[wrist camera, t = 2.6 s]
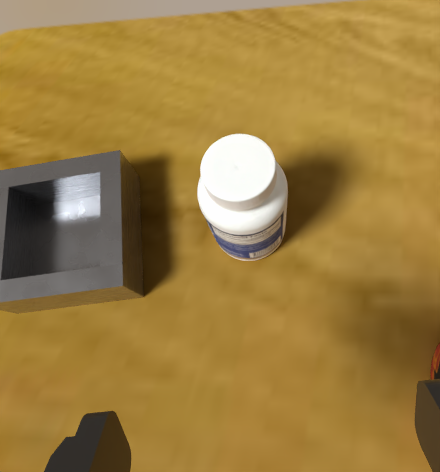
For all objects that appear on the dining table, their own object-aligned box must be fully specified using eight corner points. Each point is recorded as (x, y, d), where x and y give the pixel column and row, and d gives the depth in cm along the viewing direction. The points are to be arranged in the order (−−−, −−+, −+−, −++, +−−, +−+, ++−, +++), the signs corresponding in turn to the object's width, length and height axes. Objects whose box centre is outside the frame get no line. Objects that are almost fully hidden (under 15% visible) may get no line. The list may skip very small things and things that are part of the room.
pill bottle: (224, 189, 31) (201, 115, 22) (291, 202, 30) (299, 129, 20) (206, 254, 29) (174, 203, 20) (276, 270, 28) (277, 223, 19)
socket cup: (27, 196, 33) (-9, 171, 29) (140, 178, 32) (120, 150, 28) (19, 313, 30) (-23, 305, 26) (145, 297, 29) (122, 285, 25)
